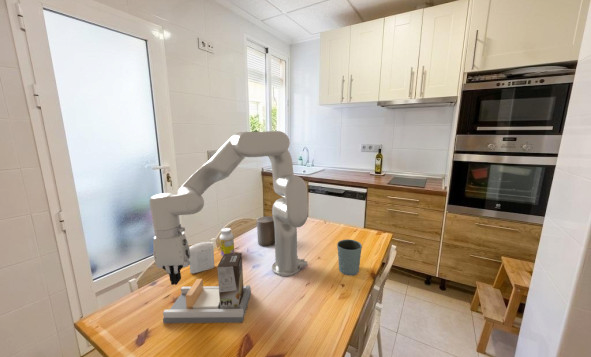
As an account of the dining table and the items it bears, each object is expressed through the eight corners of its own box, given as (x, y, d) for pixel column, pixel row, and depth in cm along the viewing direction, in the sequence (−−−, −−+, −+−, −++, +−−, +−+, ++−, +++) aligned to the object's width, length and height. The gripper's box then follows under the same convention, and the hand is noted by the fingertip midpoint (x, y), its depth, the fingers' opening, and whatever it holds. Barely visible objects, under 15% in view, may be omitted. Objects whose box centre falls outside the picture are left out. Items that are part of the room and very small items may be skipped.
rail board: (251, 293, 89) (250, 282, 88) (242, 322, 75) (241, 309, 74) (183, 294, 89) (182, 283, 88) (163, 323, 75) (161, 310, 74)
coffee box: (240, 311, 77) (237, 266, 75) (220, 313, 77) (216, 267, 74) (244, 293, 86) (242, 252, 84) (226, 294, 86) (223, 253, 83)
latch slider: (226, 293, 86) (224, 278, 85) (217, 311, 77) (216, 295, 76) (198, 294, 86) (196, 278, 85) (187, 312, 77) (185, 295, 76)
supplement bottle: (220, 252, 121) (218, 228, 119) (233, 249, 124) (231, 226, 121) (221, 258, 115) (219, 233, 113) (235, 255, 118) (233, 230, 115)
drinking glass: (362, 267, 106) (363, 241, 104) (358, 279, 97) (359, 251, 95) (340, 262, 110) (340, 237, 108) (334, 273, 101) (334, 247, 99)
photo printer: (213, 263, 110) (211, 238, 108) (216, 267, 107) (214, 241, 104) (189, 270, 105) (186, 244, 102) (191, 275, 101) (188, 248, 99)
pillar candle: (279, 241, 132) (278, 215, 130) (267, 248, 124) (266, 220, 122) (265, 238, 138) (264, 213, 135) (253, 244, 130) (252, 217, 127)
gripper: (196, 226, 81) (202, 274, 84) (152, 227, 81) (160, 276, 85) (185, 235, 74) (193, 288, 77) (137, 237, 74) (147, 290, 77)
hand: (176, 282), depth 81 cm, fingers closed
